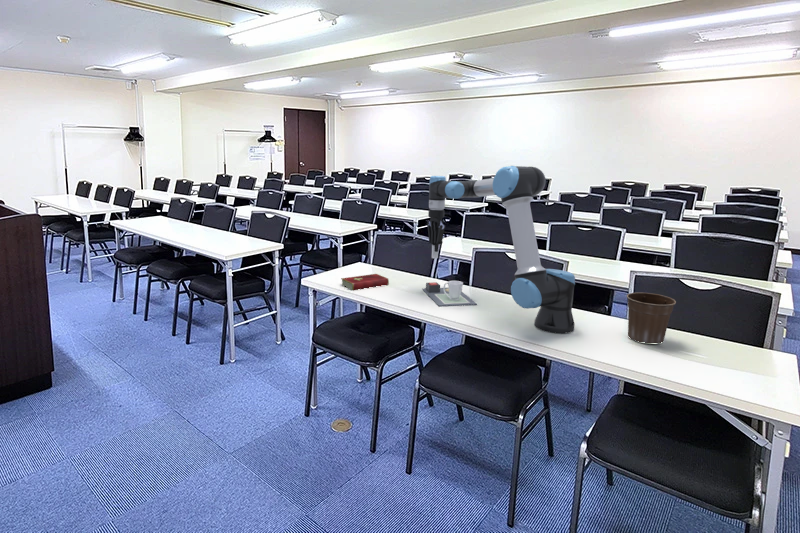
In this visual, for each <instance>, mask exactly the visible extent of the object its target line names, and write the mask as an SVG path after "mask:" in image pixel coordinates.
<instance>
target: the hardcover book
mask: <svg viewBox="0 0 800 533" xmlns="http://www.w3.org/2000/svg"><path fill="white" fill-rule="evenodd" d="M340 280H341V285H342V286H343V285H344V286H343V287H345V286H346V287H345V288H347V287H348V288H347V289H349V288H350V289H349V290H351V289H352V290H353V291H358V289H360V290H365V289H364V288H367V289H370V288H369V287H373V288H377V287H376V286H380V287H382V286H381V285H386V286H389V284H390V283H389V282H390V281H389V278H387V277H385V276H383V275H381V274H378V273H371V274H364V275H358V276H356V275H355V276H350V277H342V278H340ZM352 290H351V291H352Z"/></svg>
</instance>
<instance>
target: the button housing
mask: <svg viewBox="0 0 800 533" xmlns="http://www.w3.org/2000/svg"><path fill="white" fill-rule="evenodd" d="M429 283H430V282H426V283H425V288H426V290H427V291H428V292H429V293H434V292H440V288H441V284H440V283H439V282H437V281H436V283H437V284H438V285H429ZM432 283H434V282H432Z"/></svg>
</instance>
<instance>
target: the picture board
mask: <svg viewBox="0 0 800 533" xmlns="http://www.w3.org/2000/svg"><path fill="white" fill-rule="evenodd" d="M421 290H422V292H424V293H425V294H426V295H427V296H428V297H429V298H430V299H431V301H433V303H434V304H436V306H438V308H439V307H441V308H442V307H462V305H463V307H464V305H465V306H477V305H478V303H477V302H475V300H473V299H472V298H470V297H469V296H468V295H467V294H466V293H464V292H463V291H462V290H461V294H460V297H459V300H457V301H454V300H451V299H450V298H449V297H447V295H446V294H445V293H444V291H443V287H440V292H434V293H429V292H428V291H427V290H426V287H425V288H424V287H422V288H421ZM445 292H446V293H447V294H448V296H450V295H449V287H445Z"/></svg>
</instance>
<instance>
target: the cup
mask: <svg viewBox="0 0 800 533" xmlns="http://www.w3.org/2000/svg"><path fill="white" fill-rule="evenodd" d="M463 284H464V282H463V281H459V280H448V282H445V283H444V284H443V286H442V288H443V291H444V293H445V294H446V295H447V297H449V298H450V299H451V300H454V301H457V300H459V297H460V294H461V291H462V290H463ZM446 285H448V287H447V288H449V295H450V296H448V294H447V293H446V292H445V288H446Z"/></svg>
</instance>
